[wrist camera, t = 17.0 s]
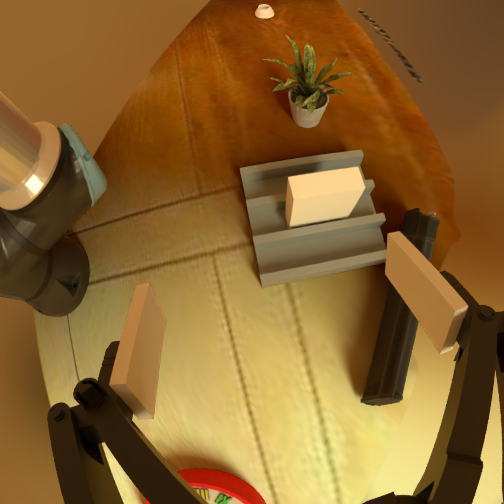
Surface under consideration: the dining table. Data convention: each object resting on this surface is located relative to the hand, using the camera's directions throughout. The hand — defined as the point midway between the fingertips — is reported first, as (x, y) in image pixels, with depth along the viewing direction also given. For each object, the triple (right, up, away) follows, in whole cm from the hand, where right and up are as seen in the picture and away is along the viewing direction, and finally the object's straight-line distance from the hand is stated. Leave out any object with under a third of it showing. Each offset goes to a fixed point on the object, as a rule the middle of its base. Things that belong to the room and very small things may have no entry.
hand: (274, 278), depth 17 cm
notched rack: (+9, +6, +33) cm, 34 cm away
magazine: (+21, -7, +29) cm, 36 cm away
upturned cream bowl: (+2, +63, +48) cm, 80 cm away
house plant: (+8, +27, +38) cm, 48 cm away
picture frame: (+9, +7, +31) cm, 33 cm away
